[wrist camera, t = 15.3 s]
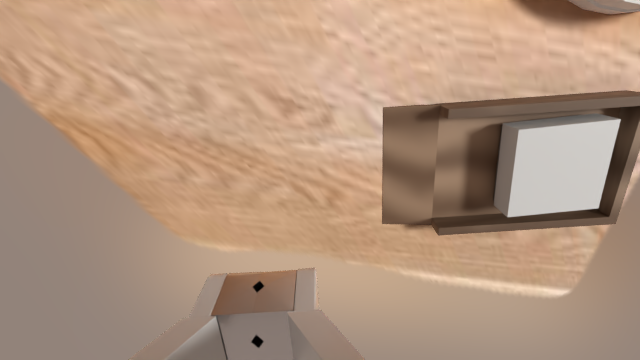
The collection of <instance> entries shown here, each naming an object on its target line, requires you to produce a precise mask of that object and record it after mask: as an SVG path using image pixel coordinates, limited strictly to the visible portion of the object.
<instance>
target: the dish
mask: <svg viewBox="0 0 640 360" xmlns="http://www.w3.org/2000/svg"><path fill="white" fill-rule="evenodd" d="M568 1H570V2H571V3H573V4H575V5H576V6H578V7H580V8H581V9H583V10H588V11H593V12H599V13H604V14H618V13H628V12H637V11H640V0H568Z"/></svg>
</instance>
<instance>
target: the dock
mask: <svg viewBox="0 0 640 360" xmlns="http://www.w3.org/2000/svg"><path fill="white" fill-rule="evenodd" d="M595 113H597V114H601V115H606V116H610V117H614V118H618V119H621V121H620V125H619V128H618V132H617V136H616V140H615V144H614V148H613V152H612V156H611V160H610V164H609V168H608V172H607V176H606V180H605V184H604V188H603V192H602V196H601V200H600V204H599V208H597V209H587V210H577V211H567V212H556V213H546V214H536V215H526V216H516V217H506V216H505V215H504V214H503V213H502V212H501V211H500V210H499V209H497V208H496V207H495V206H494V201H493V196H494V187H495V178H496V168H497V159H498V150H499V141H500V132H501V126H503V123H511V122H520V121H530V120H539V119H548V118H558V117H567V116H577V115H586V114H595ZM639 150H640V92H634V91H627V90H626V91H612V92H598V93H584V94H569V95H555V96H541V97H527V98H513V99H499V100H484V101H470V102H456V103H442V104H436V105H412V106H398V107H384V108H383V224H419V225H432V226H433V228H434V230H435V231H436V233H437V234H438V235H452V234H467V233H483V232H498V231H514V230H529V229H545V228H560V227H575V226H591V225H606V224H616V221H617V218H618V215H619V212H620V209H621V206H622V202H623V199H624V196H625V193H626V190H627V187H628V184H629V181H630V178H631V175H632V172H633V169H634V165H635V162H636V159H637V156H638V153H639Z"/></svg>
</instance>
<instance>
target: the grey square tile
mask: <svg viewBox="0 0 640 360" xmlns="http://www.w3.org/2000/svg"><path fill="white" fill-rule="evenodd" d="M620 121H621V119H618V118H614V117H610V116H606V115H601V114H597V113H595V114H586V115H577V116H567V117H558V118H548V119H539V120H530V121H520V122H511V123H503V126H501V132H500V141H499V150H498V159H497V168H496V178H495V187H494V196H493V201H494V206H495V207H496V208H497V209H499V210H500V211H501V212H502V213H503V214H504V215H505V216H506V217H516V216H526V215H536V214H546V213H556V212H567V211H577V210H587V209H597V208H599V204H600V200H601V196H602V192H603V188H604V184H605V180H606V176H607V172H608V168H609V164H610V160H611V156H612V152H613V148H614V144H615V140H616V136H617V132H618V128H619V125H620Z"/></svg>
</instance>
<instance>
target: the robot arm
mask: <svg viewBox="0 0 640 360" xmlns="http://www.w3.org/2000/svg"><path fill="white" fill-rule="evenodd" d="M129 360H365V359H364V358H363V357H362V356H361V354H360V353H359V352H358V351H357V350H356V349H355V348H354V346H353V345H352V344H351V343H350V342H349V341H348V340H347V339H346V337H345V336H344V335H343V334H342V333H341V332H340V331H339V330H338V328H337V327H336V326H335V325H334V324H333V323H332V322H331V321H330V320H329V318H328V317H327V316H326V315H325V314H324V313H323V312H322V310H319V298H318V286H317V274H316V269H315V268H306V269H298V270H289V271H274V272H249V273H229V274H227V273H226V274H211V275H210V276H209V277H208V278H207V280H206V282H205V284H204V287H203V288H202V291H201V293H200V295H199V297H198V299H197V301H196V303H195V305H194V307H193V310H192V311H191V314H190V316H189V318H183V319H182V320H180V321H179V322H177V323H176V324H175V325H173V326H172V327H171V328H169V329H168V330H167V331H165V332H164V333H163V334H161V335H160V336H159V337H158V338H156V339H155V340H154V341H152V342H151V343H150V344H148V345H147V346H146V347H144V348H143V349H142V350H140V351H139V352H138V353H137V354H135V355H134V356H133V357H131V358H130V359H129Z"/></svg>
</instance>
